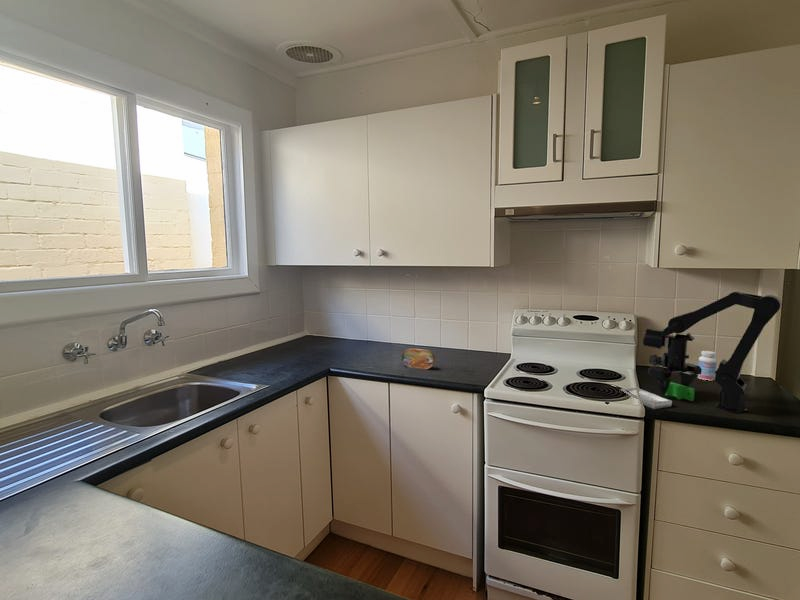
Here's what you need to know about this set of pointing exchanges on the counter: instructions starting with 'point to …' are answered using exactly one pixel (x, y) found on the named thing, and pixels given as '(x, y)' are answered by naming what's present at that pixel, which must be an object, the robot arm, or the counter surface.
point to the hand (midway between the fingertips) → (673, 393)
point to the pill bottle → (707, 365)
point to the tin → (418, 358)
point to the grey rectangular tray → (649, 398)
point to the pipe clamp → (680, 391)
